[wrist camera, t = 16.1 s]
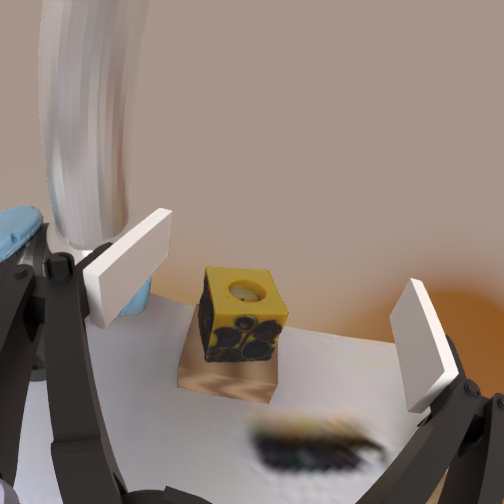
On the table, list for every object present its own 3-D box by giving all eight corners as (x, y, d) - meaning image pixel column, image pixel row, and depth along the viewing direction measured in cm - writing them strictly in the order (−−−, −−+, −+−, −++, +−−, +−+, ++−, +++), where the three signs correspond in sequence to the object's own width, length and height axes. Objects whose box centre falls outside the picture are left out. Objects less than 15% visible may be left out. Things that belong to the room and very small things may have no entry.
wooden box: (177, 389, 42) (178, 366, 39) (194, 328, 54) (196, 303, 51) (267, 405, 43) (277, 384, 40) (269, 342, 55) (277, 319, 52)
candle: (196, 315, 49) (203, 264, 44) (255, 315, 52) (269, 267, 47) (203, 364, 41) (211, 313, 36) (271, 361, 44) (290, 312, 39)
